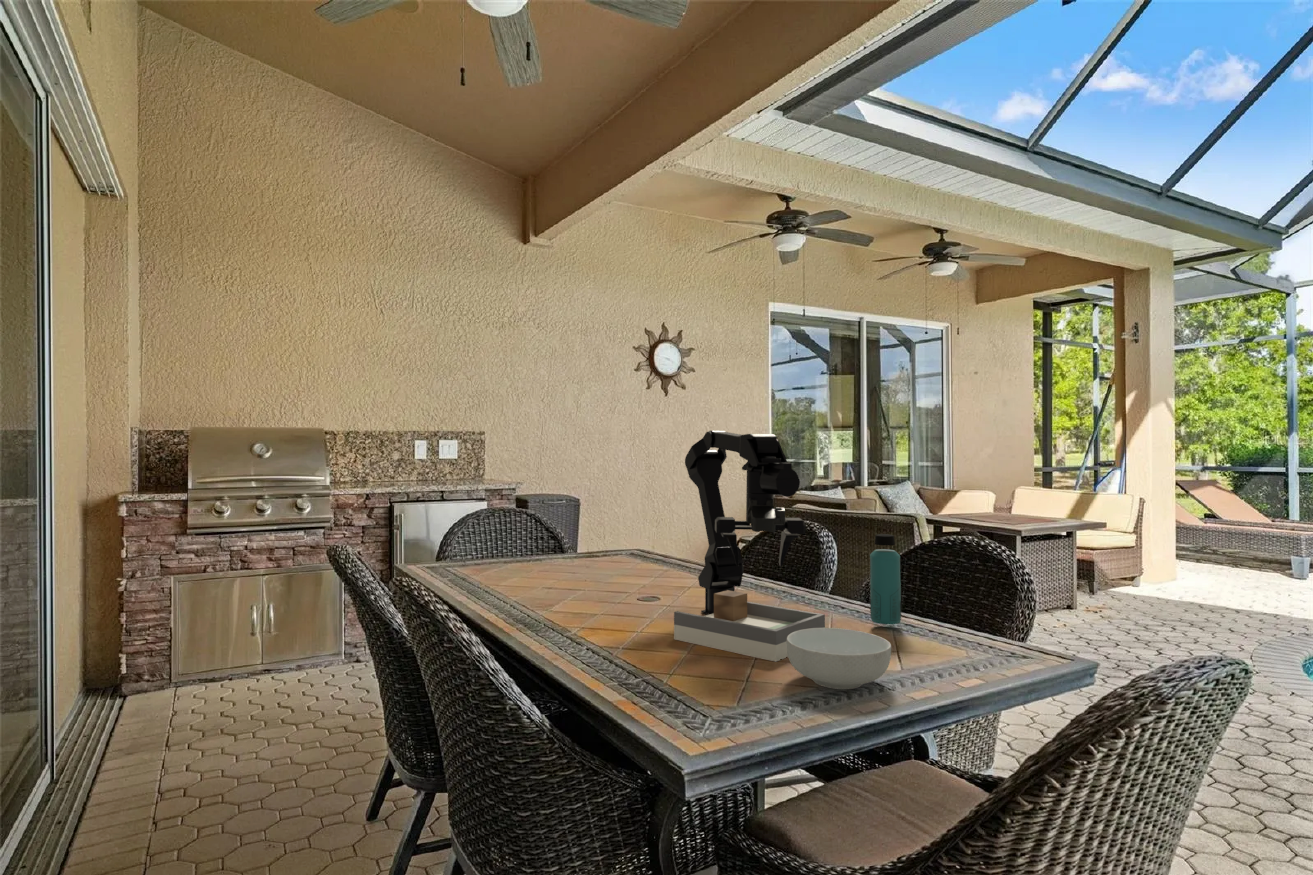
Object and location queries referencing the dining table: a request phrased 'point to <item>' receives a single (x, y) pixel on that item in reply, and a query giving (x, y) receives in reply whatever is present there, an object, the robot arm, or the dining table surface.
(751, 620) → the trap box
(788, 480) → the robot arm
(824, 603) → the dining table surface
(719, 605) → the walnut block
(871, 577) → the beverage bottle
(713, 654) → the dining table surface
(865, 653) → the cereal bowl
